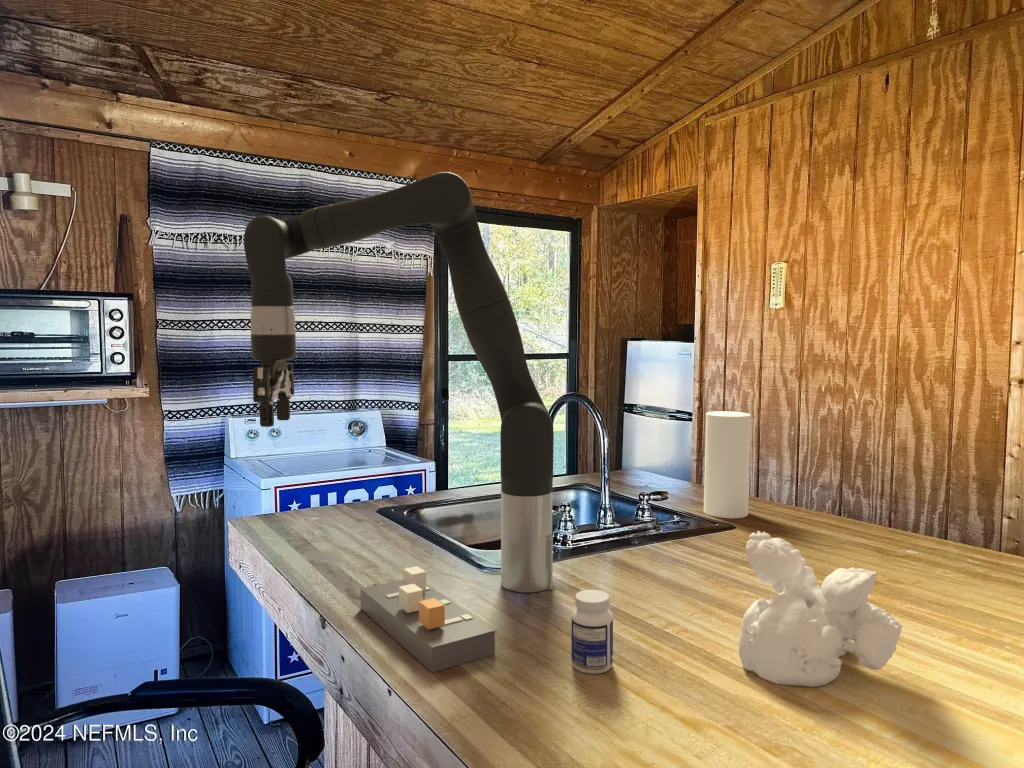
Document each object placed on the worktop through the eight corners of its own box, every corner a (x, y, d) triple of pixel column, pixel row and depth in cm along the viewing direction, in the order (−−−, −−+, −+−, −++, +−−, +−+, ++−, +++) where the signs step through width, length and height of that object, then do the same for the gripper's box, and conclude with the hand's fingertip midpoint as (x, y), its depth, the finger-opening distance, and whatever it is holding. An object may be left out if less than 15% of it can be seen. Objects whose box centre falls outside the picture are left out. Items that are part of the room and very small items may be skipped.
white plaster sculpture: (693, 606, 98) (767, 510, 107) (729, 697, 107) (795, 601, 116) (829, 663, 83) (900, 546, 93) (858, 763, 92) (920, 648, 102)
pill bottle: (586, 652, 104) (586, 584, 103) (620, 664, 100) (621, 594, 100) (562, 666, 100) (563, 596, 99) (598, 679, 96) (599, 606, 95)
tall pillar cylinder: (719, 505, 188) (722, 410, 186) (756, 513, 180) (759, 414, 178) (694, 511, 182) (697, 413, 180) (731, 520, 173) (734, 417, 171)
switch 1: (412, 592, 116) (411, 574, 116) (403, 586, 119) (403, 568, 118) (426, 589, 117) (426, 571, 117) (417, 583, 120) (417, 566, 120)
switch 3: (428, 629, 102) (428, 608, 102) (419, 621, 105) (418, 601, 105) (444, 625, 103) (444, 605, 103) (434, 617, 106) (434, 597, 106)
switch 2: (407, 612, 108) (407, 593, 108) (398, 605, 111) (398, 586, 110) (423, 609, 109) (422, 589, 109) (413, 602, 112) (413, 583, 112)
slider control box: (347, 597, 125) (347, 576, 124) (401, 586, 130) (401, 566, 130) (432, 672, 98) (432, 646, 98) (494, 654, 103) (494, 629, 103)
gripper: (280, 332, 121) (283, 429, 122) (306, 332, 135) (308, 418, 136) (236, 332, 121) (239, 428, 122) (266, 331, 135) (268, 418, 136)
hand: (275, 423), depth 129 cm, fingers open, 8 cm apart
